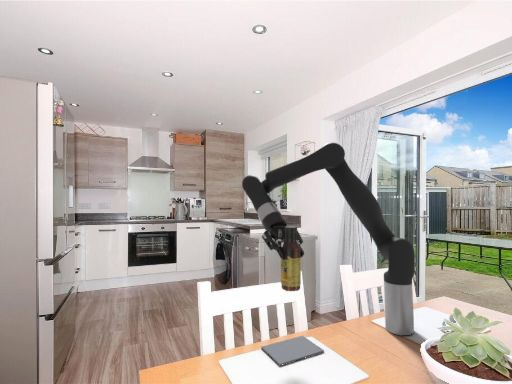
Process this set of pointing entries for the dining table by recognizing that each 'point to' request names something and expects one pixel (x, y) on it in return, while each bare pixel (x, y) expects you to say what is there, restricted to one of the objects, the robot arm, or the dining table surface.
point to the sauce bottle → (291, 261)
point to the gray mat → (292, 350)
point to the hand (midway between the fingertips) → (294, 257)
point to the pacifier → (450, 320)
